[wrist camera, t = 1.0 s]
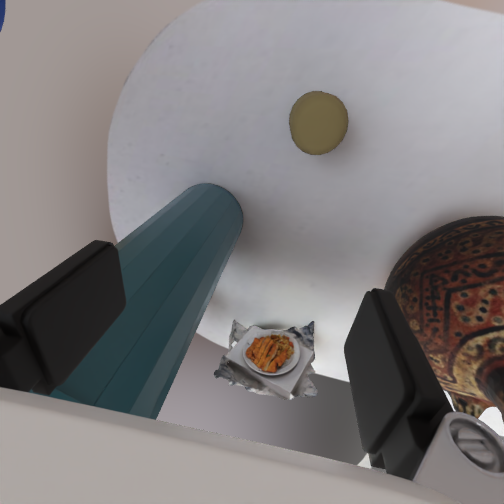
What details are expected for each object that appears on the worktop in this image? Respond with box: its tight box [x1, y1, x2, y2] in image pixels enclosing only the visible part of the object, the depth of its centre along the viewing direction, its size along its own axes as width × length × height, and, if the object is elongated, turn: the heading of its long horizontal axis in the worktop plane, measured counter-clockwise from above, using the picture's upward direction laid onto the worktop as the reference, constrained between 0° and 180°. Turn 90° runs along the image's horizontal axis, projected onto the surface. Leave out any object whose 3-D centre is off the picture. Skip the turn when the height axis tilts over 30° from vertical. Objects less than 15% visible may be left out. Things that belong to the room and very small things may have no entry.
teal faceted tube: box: [55, 184, 243, 420], centre depth 28 cm, size 10×10×32 cm
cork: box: [289, 91, 348, 155], centre depth 28 cm, size 6×6×11 cm
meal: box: [214, 320, 318, 400], centre depth 44 cm, size 15×4×13 cm, turn 94°
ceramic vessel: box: [384, 216, 504, 422], centre depth 26 cm, size 21×18×30 cm
